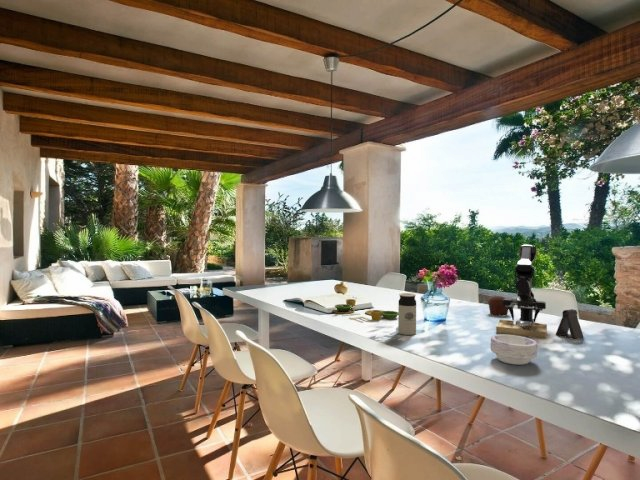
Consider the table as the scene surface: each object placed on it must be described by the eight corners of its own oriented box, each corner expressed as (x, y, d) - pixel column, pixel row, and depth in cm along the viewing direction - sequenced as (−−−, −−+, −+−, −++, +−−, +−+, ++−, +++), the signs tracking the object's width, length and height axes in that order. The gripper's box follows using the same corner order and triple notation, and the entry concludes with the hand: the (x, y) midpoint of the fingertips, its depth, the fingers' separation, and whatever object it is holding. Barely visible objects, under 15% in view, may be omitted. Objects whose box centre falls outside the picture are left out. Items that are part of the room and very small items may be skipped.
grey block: (517, 326, 203) (517, 318, 203) (530, 327, 200) (531, 319, 200) (515, 330, 194) (515, 321, 194) (529, 331, 191) (529, 323, 191)
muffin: (512, 314, 233) (512, 296, 232) (506, 317, 224) (506, 298, 224) (491, 311, 240) (491, 294, 240) (484, 314, 232) (484, 296, 232)
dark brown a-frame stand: (555, 335, 185) (555, 308, 185) (563, 333, 188) (564, 307, 187) (575, 339, 177) (575, 312, 177) (583, 338, 180) (584, 311, 179)
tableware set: (324, 310, 245) (324, 299, 245) (364, 306, 257) (364, 296, 257) (360, 324, 208) (360, 312, 208) (404, 319, 220) (404, 307, 220)
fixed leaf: (500, 326, 201) (500, 318, 200) (546, 332, 190) (546, 323, 190) (496, 332, 189) (496, 324, 188) (545, 338, 178) (545, 329, 178)
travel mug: (398, 330, 192) (398, 292, 192) (415, 331, 191) (416, 293, 190) (398, 334, 184) (398, 295, 184) (416, 335, 183) (416, 295, 182)
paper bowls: (547, 365, 143) (547, 343, 142) (511, 369, 138) (511, 346, 138) (514, 353, 157) (515, 332, 157) (481, 356, 153) (481, 335, 153)
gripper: (501, 289, 196) (500, 322, 197) (545, 292, 187) (544, 326, 187) (503, 287, 206) (503, 318, 206) (546, 289, 196) (545, 322, 197)
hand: (523, 321), depth 199 cm, fingers open, 9 cm apart
